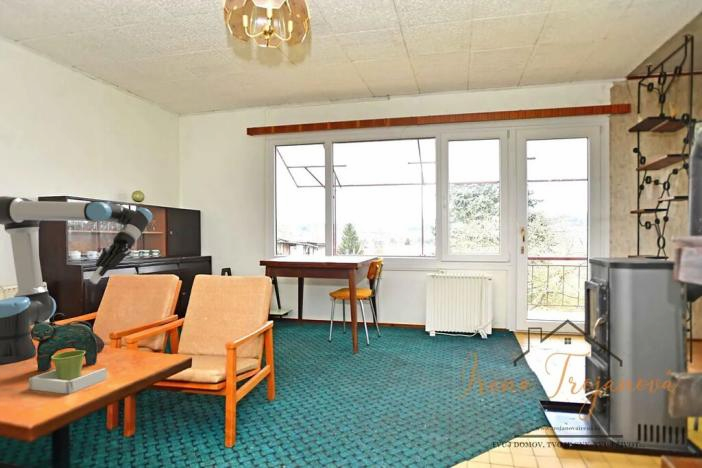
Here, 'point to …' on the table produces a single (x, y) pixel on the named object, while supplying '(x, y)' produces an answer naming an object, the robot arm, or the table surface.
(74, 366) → the plant pot
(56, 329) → the ceramic cat
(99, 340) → the decorative rock
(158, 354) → the table surface
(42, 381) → the white u-shaped frame
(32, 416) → the table surface
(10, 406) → the table surface
